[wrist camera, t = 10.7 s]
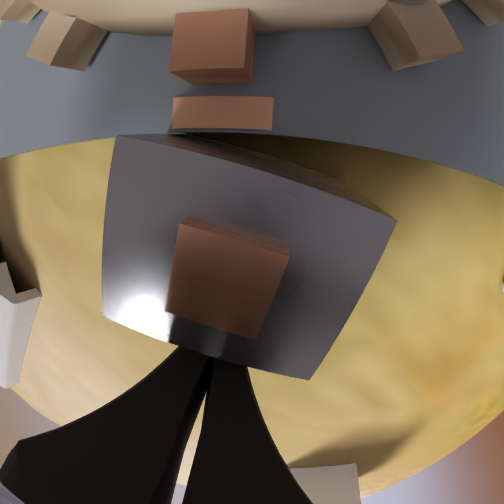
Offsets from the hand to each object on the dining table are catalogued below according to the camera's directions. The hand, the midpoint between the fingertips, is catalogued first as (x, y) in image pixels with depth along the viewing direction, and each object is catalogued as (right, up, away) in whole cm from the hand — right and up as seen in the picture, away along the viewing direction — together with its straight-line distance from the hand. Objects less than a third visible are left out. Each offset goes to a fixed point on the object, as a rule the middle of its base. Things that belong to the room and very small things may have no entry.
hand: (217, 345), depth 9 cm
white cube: (+6, -16, +8) cm, 18 cm away
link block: (+1, +4, 0) cm, 4 cm away
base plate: (+1, +16, -5) cm, 17 cm away
